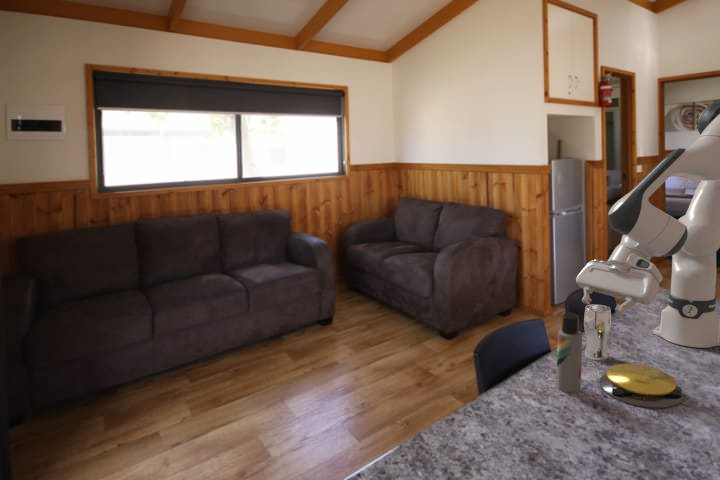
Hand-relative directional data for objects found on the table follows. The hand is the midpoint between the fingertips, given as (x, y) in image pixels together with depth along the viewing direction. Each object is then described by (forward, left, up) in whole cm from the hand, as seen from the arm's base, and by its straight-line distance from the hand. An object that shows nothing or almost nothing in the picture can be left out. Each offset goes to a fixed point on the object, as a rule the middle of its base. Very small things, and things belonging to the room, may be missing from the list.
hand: (601, 307), depth 121 cm
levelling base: (+2, +10, -20) cm, 22 cm away
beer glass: (-13, -3, -20) cm, 24 cm away
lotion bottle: (+10, -5, -20) cm, 23 cm away
